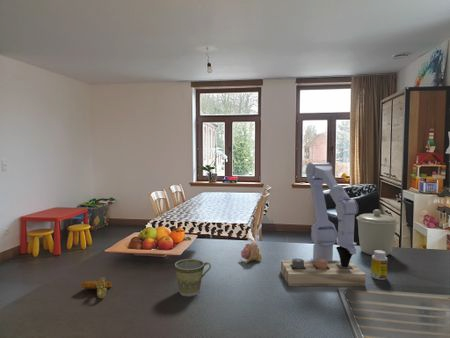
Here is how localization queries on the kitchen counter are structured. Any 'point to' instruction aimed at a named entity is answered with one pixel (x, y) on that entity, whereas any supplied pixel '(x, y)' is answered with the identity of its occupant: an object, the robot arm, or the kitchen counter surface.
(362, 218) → the canister
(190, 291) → the ceramic cup
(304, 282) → the mount
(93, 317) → the kitchen counter surface
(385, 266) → the supplement bottle
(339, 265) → the knob
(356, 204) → the robot arm
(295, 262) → the knob
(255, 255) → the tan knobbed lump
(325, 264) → the knob middle
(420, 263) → the kitchen counter surface
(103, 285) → the ornament
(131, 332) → the kitchen counter surface
